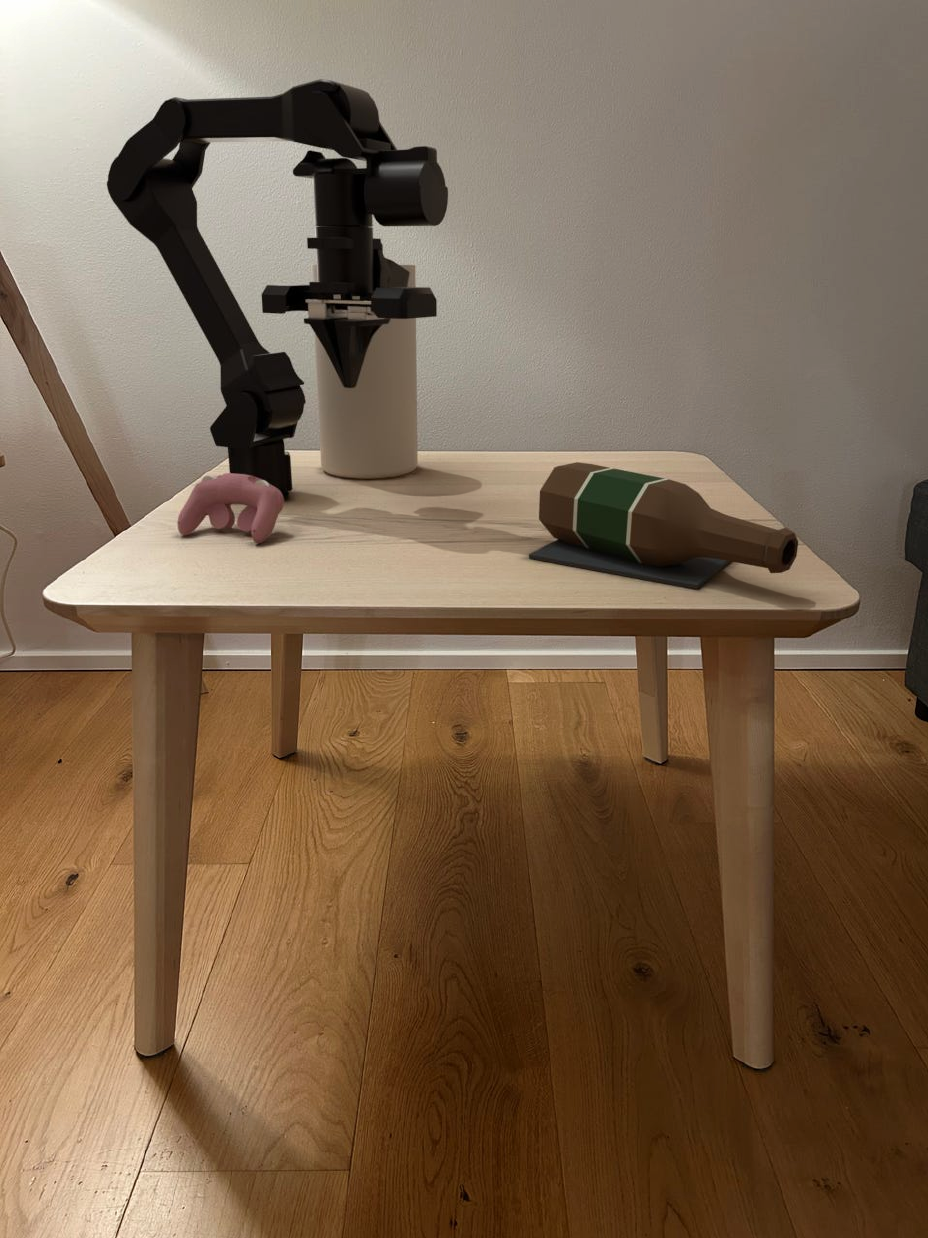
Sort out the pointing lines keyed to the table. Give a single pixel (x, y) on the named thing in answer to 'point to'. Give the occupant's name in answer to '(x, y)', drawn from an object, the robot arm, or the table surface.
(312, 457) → the table surface
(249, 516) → the video game controller
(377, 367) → the cylinder vase
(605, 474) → the beer bottle
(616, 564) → the mat
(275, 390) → the robot arm
